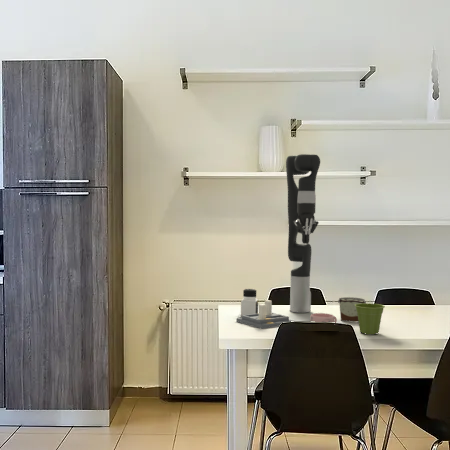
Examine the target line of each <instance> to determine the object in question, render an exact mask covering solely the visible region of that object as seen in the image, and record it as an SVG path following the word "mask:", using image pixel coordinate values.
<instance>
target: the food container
mask: <svg viewBox="0 0 450 450" xmlns="http://www.w3.org/2000/svg"><path fill="white" fill-rule="evenodd" d="M337 303H338V304H339V314H340V321H341V322H349V321H358V314H357V311H356V306H355V304H361V303H367V301H366V299H365V298H362V297H350V296H348V297H339V299H338V300H337Z"/></svg>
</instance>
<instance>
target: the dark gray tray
mask: <svg viewBox="0 0 450 450" xmlns="http://www.w3.org/2000/svg"><path fill="white" fill-rule="evenodd" d="M240 316H241V317H237V318H236V322H237V323H240V324H244V325H248V326H250V327H255V328H257V329H260V330H261V329H268V328H269V329H270V328H275V327H280V326H279V325H280V324H281V323H283V322H291V321H294V320H293V319H290V316H287V315H282V314H280V313H275V312H272V314H270V315H266V319H262V320H260V319H258V318H259V312H258V313H257V314H249V315H241V314H240Z"/></svg>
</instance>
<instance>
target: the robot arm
mask: <svg viewBox="0 0 450 450" xmlns="http://www.w3.org/2000/svg"><path fill="white" fill-rule="evenodd" d="M320 166H321V158H320V156H319V155H318V154H314V153H313V154H312V153H311V154H309V153H308V154H307V153H305V154H304V153H300V154H297V155H288V156H287V157H286V158H285V169H286V170H285V171H286V173H285V174H286V181H287V182H286V183H287V218H288V219H287V220H288V223H287V224H288V239H287V243H288V244H287V256H288V257H287V258H288V260H289V261H290V262H296V263H297V262H298V263H301V265H300V266H298V267H296V268H293V269H291V270H290V287H289V288H290V293H289V295H290V298H289V311H290V312H292V313H300V314H302V313H303V314H304V313H309V312H311V307H312V292H311V288H310V283H311V264H312V263H311V262H312V246H311V244H310V235H311V234H313V233H314V232H315V230H316V228H317V226H318V225H319V221H316V219H315V214H316V196H317V195H316V181H317V176H318V172H319V168H320ZM309 173H310V174H309ZM308 174H309V175H308ZM301 175H302V177H299V178H298V183H297V184H298V185H297V184H296V181H295V178H294V176H301ZM304 175H307V176H304ZM298 234H301V242H297V238H298V237H297V236H298Z"/></svg>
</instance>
